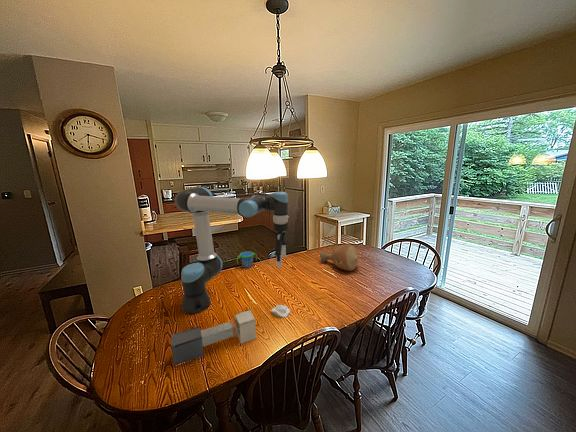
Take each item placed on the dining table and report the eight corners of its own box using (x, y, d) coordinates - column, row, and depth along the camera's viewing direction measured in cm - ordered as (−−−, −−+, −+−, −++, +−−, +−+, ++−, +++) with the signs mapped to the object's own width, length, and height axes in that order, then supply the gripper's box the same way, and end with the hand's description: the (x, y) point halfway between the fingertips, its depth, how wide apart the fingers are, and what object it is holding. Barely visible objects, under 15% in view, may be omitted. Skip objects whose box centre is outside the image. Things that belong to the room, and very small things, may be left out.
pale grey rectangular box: (178, 355, 93) (177, 345, 91) (178, 347, 97) (176, 336, 96) (236, 336, 103) (235, 326, 101) (233, 329, 107) (232, 319, 106)
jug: (349, 263, 155) (312, 257, 174) (358, 278, 166) (321, 271, 185) (358, 239, 166) (321, 236, 185) (365, 255, 177) (330, 250, 196)
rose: (270, 311, 118) (271, 300, 128) (271, 319, 119) (271, 307, 129) (290, 310, 119) (289, 299, 128) (290, 318, 120) (289, 306, 129)
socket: (241, 343, 103) (239, 324, 101) (236, 333, 109) (235, 314, 107) (256, 338, 106) (255, 319, 104) (250, 328, 113) (249, 310, 110)
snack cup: (238, 270, 174) (237, 257, 171) (236, 264, 183) (235, 252, 181) (258, 267, 178) (258, 254, 176) (256, 261, 188) (255, 250, 186)
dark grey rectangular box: (174, 367, 92) (171, 346, 89) (174, 354, 98) (171, 334, 96) (203, 356, 96) (201, 336, 94) (201, 345, 102) (199, 326, 100)
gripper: (284, 229, 107) (284, 272, 112) (291, 217, 131) (291, 252, 136) (268, 228, 108) (269, 271, 113) (277, 216, 132) (278, 252, 137)
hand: (281, 261), depth 124 cm, fingers open, 13 cm apart
